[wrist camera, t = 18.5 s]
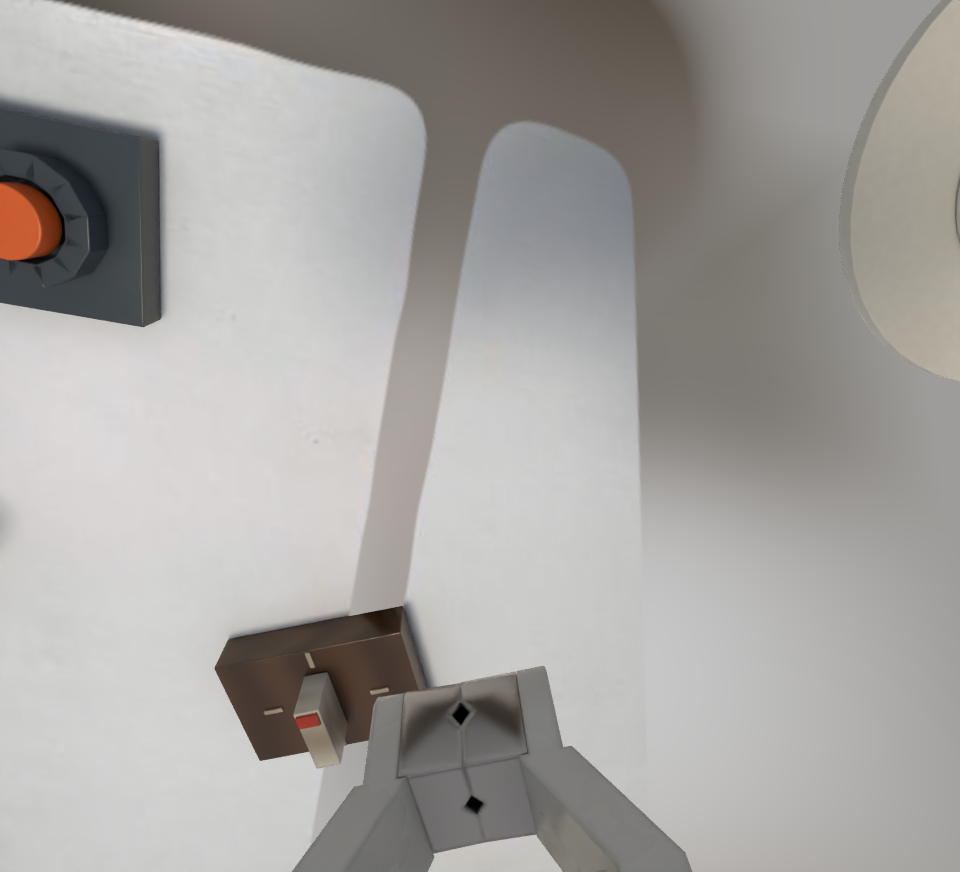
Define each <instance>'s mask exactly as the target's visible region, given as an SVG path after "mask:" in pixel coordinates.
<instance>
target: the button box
mask: <svg viewBox="0 0 960 872" xmlns="http://www.w3.org/2000/svg"><path fill="white" fill-rule="evenodd" d="M0 182H17V183H22V184H26V185H29V186H31V187H33V188H35V189H37V190H38V191H40V192H41V193H42V194H44V195H45V196H46V197H47V198H48V199H49V200H50V201H51V202H52V204H53V205H54V207H55V208H56V210H57V212H58V214H59V216H60V219H61V223H62V237H61V240H60V242H59V244H58V246H57V247H56V249H55V250H54V251H52V252H51V253H49V254H47V255H45V256H42V257H36V258H29V259H23V260H6V259H2V258H0V303H5V304H11V305H17V306H23V307H29V308H34V309H40V310H46V311H52V312H58V313H64V314H69V315H75V316H81V317H87V318H93V319H99V320H105V321H110V322H116V323H122V324H128V325H134V326H140V327H145V326H147V325H149V324H151V323H154V322H156V321H158V320H160V250H159V153H158V141H155V140H150V139H146V138H141V137H136V136H131V135H127V134H122V133H117V132H113V131H108V130H103V129H98V128H94V127H89V126H84V125H79V124H75V123H70V122H65V121H60V120H56V119H51V118H46V117H41V116H37V115H32V114H27V113H22V112H18V111H13V110H8V109H3V108H0Z"/></svg>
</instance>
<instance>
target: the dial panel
mask: <svg viewBox="0 0 960 872" xmlns="http://www.w3.org/2000/svg"><path fill="white" fill-rule="evenodd" d="M215 671H216V673H217V675H218V677H219V679H220V681H221V683H222V685H223V687H224V689H225V691H226V693H227V695H228V697H229V699H230V701H231V703H232V705H233V707H234V709H235V711H236V713H237V715H238V717H239V719H240V721H241V724H242V726H243V728H244V730H245V732H246V734H247V736H248V738H249V740H250V742H251V744H252V746H253V748H254V750H255V752H256V754H257V756H258V758H259V760H260V761H262V760H268V759H273V758H278V757H283V756H289V755H294V754H299V753H304V752H309V750H308V747H307V745H306V743H305V740H304V738H303V736H302V734H301V731H300V729H299V727H298V725H297V722H296V720H295V718H294V716H293V714H294V711H295V707H296V704H297V700H298V697H299V693H300V690H301V686H302V683H303V679H304V677H305V676H309V675H314V674H319V673H325V672H328V675H329V677H330V680H331V682H332V685H333V687H334V690H335V693H336V695H337V698H338V700H339V703H340V705H341V708H342V710H343V713H344V715H345V718H346V721H347V723H348V726H347V731H346V737H345V742H344V746H345V745H347V744H352V743H357V742H362V741H368V740H369V736H370V729H371V721H372V714H373V707H374V704H375V702H376V700H377V697H383V696H389V695H396V694H402V693H406V692H410V691H416V690H422V689H428V686H427V683H426V680H425V677H424V673H423V670H422V667H421V663H420V660H419V657H418V654H417V650H416V647H415V644H414V640H413V637H412V634H411V631H410V627H409V624H408V621H407V617H406V614H405V611H404V608H403V606H400V607H395V608H390V609H385V610H379V611H374V612H369V613H364V614H359V615H354V616H348V617H343V618H338V619H333V620H328V621H323V622H318V623H312V624H307V625H302V626H297V627H292V628H287V629H282V630H276V631H271V632H266V633H261V634H256V635H251V636H246V637H240V638H235V639H230V640H228V641H227V643H226V645H225V647H224V649H223V652H222V654H221V656H220V658H219V660H218V662H217V664H216V666H215Z"/></svg>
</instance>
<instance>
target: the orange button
mask: <svg viewBox="0 0 960 872" xmlns="http://www.w3.org/2000/svg"><path fill="white" fill-rule="evenodd" d="M61 237H62V223H61V219H60V216H59V214H58V212H57V210H56V208H55V207H54V205H53V204H52V202H51V201H50V200H49V199H48V198H47V197H46V196H45V195H44V194H42V193H41V192H40V191H38V190H37V189H35V188H33V187H31V186H29V185H26V184H22V183H17V182H0V258H2V259H6V260H23V259H29V258H36V257H42V256H45V255H47V254H49V253H51V252H52V251H54V250H55V249H56V247H57V246H58V244H59V242H60V240H61Z"/></svg>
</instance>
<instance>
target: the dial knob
mask: <svg viewBox="0 0 960 872" xmlns="http://www.w3.org/2000/svg"><path fill="white" fill-rule="evenodd" d="M293 716H294V718H295V720H296V722H297V725H298V727H299V729H300V731H301V734H302V736H303V738H304V740H305V743H306V745H307V747H308V750H309V752H310V754H311V756H312V759H313V761H314V763H315V765H316V768H323V767H327V766H333V765H338V764H340V763H341V759H342V753H343V748H344V742H345V737H346V731H347V726H348V723H347V721H346V718H345V715H344V713H343V710H342V708H341V705H340V703H339V700H338V698H337V695H336V693H335V690H334V687H333V685H332V682H331V680H330V677H329V675H328V672H325V673H319V674H314V675H309V676H305V677H304V679H303V683H302V686H301V690H300V693H299V697H298V700H297V704H296V707H295V711H294V714H293Z"/></svg>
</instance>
